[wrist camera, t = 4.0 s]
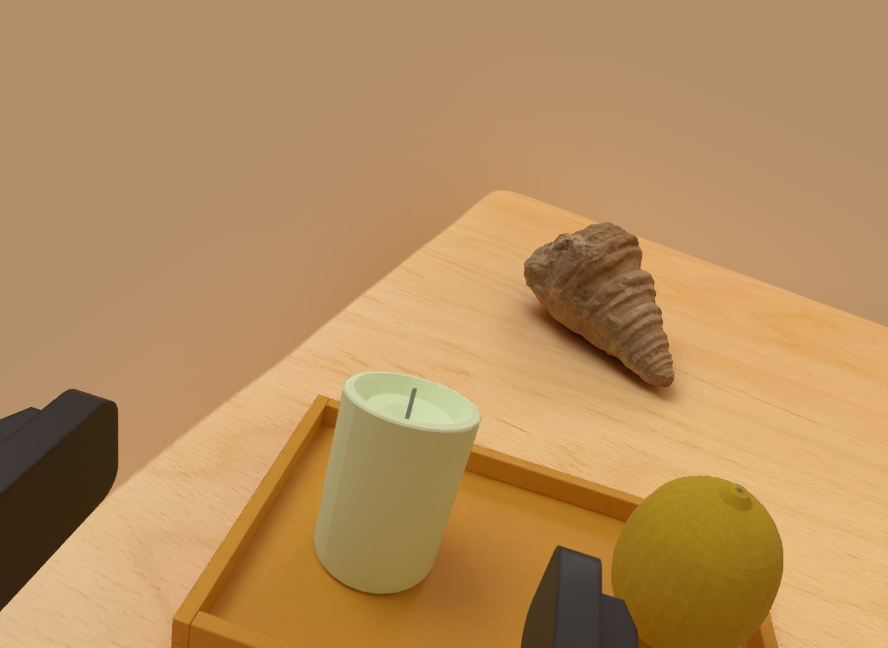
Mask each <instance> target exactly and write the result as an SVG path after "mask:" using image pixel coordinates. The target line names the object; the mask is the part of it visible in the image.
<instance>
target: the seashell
mask: <svg viewBox="0 0 888 648" xmlns="http://www.w3.org/2000/svg"><path fill="white" fill-rule="evenodd" d="M641 260H642V251H641V249H640V247H639V243H638V239H637V237H636V236H635V235H631V234H629V233H627V232H626V231H625V230H623V229H621V227H619V226H615V225H613V224H612V223H608V222H607V223H596V224H592V225H589V226H588V227H587V228H586V229H584V230H580V231H577V232H575V233H573V234H561V235H559V236H558V237H557V238H556V239H555V241H554V242H551V243H549V244H546V245H544V246H543V247H540V248H538V249H536V250H535V252H534V253H533V254H532V255H531V257H530V258H529V259H527V260H526V262H525V263H524V269H525V271H524V276H525V279H526V284H527V286H529V287H530V288H531V289H532V291H533V292H534V294H535V295H536V297H537V299H538V300H539V301H540V302H541V303H542V304H544V305H546V306H547V307H548V310H549V313H550V314H551V316H552V317H553V318H555V319H556V320H557V321H559V322H560V323H562V324H563V325H565V326H566V327H567V328H568V329H570V330H571V331H572V332H575V333H577V334H579V335H582V336H583V337H584V338H585V339H586V340H587V341H589V342H590V343H591V344H593V345H594V346H595V347H597V348H599V349H601V350H604V351H605V352H606V353H607V355H612V356H615V357H617V358H619V359H620V360H621V361H622V362H623V363H624V365H625V366H626V367H627V368H629V369H631V370H632V371H633V372H634V373H636V374H637V375H639V376H640V377H641V379H642V380H644V381H645V382H647V383H649V384H653V385H656V386H661V387H669V386H670V385H671V384H672V382H673V380H674V371H673V369H672V363H673V361H672V358H671V356H672V355H671V354H670V353H669V352H668V347H669V343H668V340H667V335H666V334H665V332H664V331H663V329H662V324H663V320H662V317H661V314H662V311H661V309H660V308H659V307H658V306H657V305H656V304H655V302H656V301H655V299H654V298H655V296H656V291H655V289H654V280H653V278H652V276H651V274H650V273H648V272H646V271H643V270H641V269H640V266H641Z"/></svg>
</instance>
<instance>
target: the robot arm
mask: <svg viewBox="0 0 888 648" xmlns="http://www.w3.org/2000/svg"><path fill="white" fill-rule="evenodd" d="M117 470H118V408H117V405H116V404H115V403H114V402H113V401H110V400H107V399H104V398H101V397H98V396H94V395H92V394H89V393H85V392H82V391H79V390H76V389H69V390H67V391H65V392H64V393H62V394H61V395H60V396H58V397H57V398H56V399H55V400H53V401H52V402H51V403H50V404H48V405H47V406H46V407H45V408H44V409H42V410H39V409H36V408H33V407H30V408H28V409H25V410H23V411H20V412H18V413H15V414H13V415H10V416H8V417H5V418H3V419H0V611H1V610H2V609H3V608H4V607H5V606H6V605H7V604H8V603H9V602H10V601H11V599H12V598H13V597H14V596H15V595H16V594H17V593H18V592H19V591H20V590H21V589H22V588H23V586H24V585H25V584H26V583H27V582H28V581H29V580H30V579H31V578H32V577H33V576H34V575H35V574H36V572H37V571H38V570H39V569H40V568H41V567H42V566H43V565H44V564H45V563H46V562H47V561H48V559H49V558H50V557H51V556H52V555H53V554H54V553H55V552H56V551H57V550H58V549H59V548H60V547H61V545H62V544H63V543H64V542H65V541H66V540H67V539H68V538H69V537H70V536H71V535H72V534H73V532H74V531H75V530H76V529H77V528H78V527H79V526H80V525H81V524H82V523H83V522H84V521H85V519H86V518H87V517H88V516H89V515H90V514H91V513H92V512H93V511H94V510H95V509H96V508H97V507H98V505H99V504H100V503H101V502H102V501H103V500H104V499H105V497H106V496H107V494H108V493H109V491H110V489H111V487H112V485H113V483H114V481H115V478H116V474H117ZM521 648H639V646H638V630H637V628H636V626H635V623H634V621H633V619H632V617H631V614H630V612H629V610H628V608H627V605H626V603H625V601H624V600H621V599H618V598H615V597H612V596H609V595H606V594H603V593H602V562H601V559H600V558H597V557H594V556H591V555H588V554H584V553H581V552H578V551H575V550H572V549H569V548H566V547H563V546H560V545H558V546H557V547H556V548H555V550H554V552H553V554H552V556H551V559H550V561H549V563H548V565H547V568H546V570H545V572H544V574H543V577H542V579H541V581H540V583H539V586H538V588H537V590H536V593H535V595H534V597H533V599H532V602H531V604H530V607H529V610H528V613H527V617H526V621H525V625H524V629H523V634H522V640H521Z"/></svg>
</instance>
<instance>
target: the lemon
mask: <svg viewBox="0 0 888 648" xmlns="http://www.w3.org/2000/svg"><path fill="white" fill-rule="evenodd" d="M782 573H783V546H782V541H781V538H780V536H779V533H778V530H777V527H776V525H775V523H774V521H773V519H772V518H771V516H770V515H769V513H768V512H767V510H766V509H765V507H764V506H763V505H762V504H761V503H760V502H759V501H758V500H757V499H756V498H755V497H754V496H753V495H752V494H750V493H749V492H748V491H747V490H746V489H745V488H744V487H742V486H741V485H738V484H734V483H732V482H730V481H727V480H724V479H720V478H716V477H710V476H688V477H682V478H679V479H676V480H673V481H670V482H668V483H665V484H664V485H662V486H661V487H659V488H658V489H657V490H655V491H654V492H653V493H652V494H650V495H649V496H648V497H647V498H646V499H645V500H644V501H643V502H642V503H641V504H640V505H639V506H638V507H637V508H636V509H635V510H634V512H633V513H632V514H631V516H630V517H629V519H628V520H627V522H626V524H625V526H624V528H623V530H622V532H621V533H620V536H619V538H618V540H617V543H616V545H615V549H614V553H613V559H612V569H611V583H612V588H613V592H614V597H615V598H618V599H621V600H624V601H625V603H626V605H627V608H628V610H629V612H630V614H631V617H632V619H633V621H634V623H635V626H636V628H637V630H638V637H639V638H640V639H641V640H643V641H644V642H645V643H646V644H648V645H649V646H651V647H652V648H737V647H739V646H740V645H741V644H742V643H744V642H745V641H746V640H747V639H748V638H749V637H750V636H752V635H753V634H754V633H755V632H756V631H757V630H758V628H759V627H760V626H761V624H762V623H763V622H764V620H765V618H766V617H767V615H768V613H769V611H770V609H771V607H772V604H773V602H774V600H775V597H776V595H777V592H778V589H779V586H780V582H781V579H782Z"/></svg>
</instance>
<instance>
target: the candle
mask: <svg viewBox="0 0 888 648" xmlns="http://www.w3.org/2000/svg"><path fill="white" fill-rule="evenodd" d="M480 421H481V415H480V412H479V410H478V408H477V407H476V406H475V405H474V404H473V403H472V402H471V401H470V400H469V399H467V398H466V397H465V396H463V395H462V394H460V393H458V392H456V391H454V390H453V389H451V388H449V387H446V386H444V385H441V384H439V383H436V382H433V381H430V380H427V379H424V378H420V377H416V376H412V375H407V374H402V373H394V372H381V371H372V372H363V373H359V374H356V375H353V376H351V377H350V378H348V379H347V380H346V381H345V382H344V386H343V391H342V396H341V401H340V406H339V411H338V416H337V422H336V427H335V432H334V437H333V442H332V447H331V452H330V457H329V462H328V467H327V472H326V477H325V482H324V487H323V493H322V498H321V503H320V508H319V513H318V518H317V523H316V528H315V533H314V544H315V551H316V553H317V555H318V557H319V560H320V562H321V564H322V565H323V566H324V567H325V568H326V569H327V571H328V572H329V573H330V574H331V575H332V576H333V577H335V578H336V579H338V580H339V581H341V582H342V583H344V584H345V585H347V586H349V587H352V588H355V589H357V590H360V591H362V592H369V593H376V594H387V593H397V592H400V591H403V590H406V589H409V588H412V587H413V586H415V585H416V584H418V583H419V582H421V581H422V580H424V578H425V577H426V576H427V575H428V573H429V572H430V571H431V569H432V567H433V564H434V561H435V559H436V556H437V552H438V549H439V546H440V543H441V540H442V537H443V534H444V531H445V528H446V525H447V522H448V519H449V516H450V513H451V510H452V507H453V504H454V501H455V498H456V495H457V492H458V488H459V485H460V482H461V479H462V476H463V473H464V470H465V467H466V464H467V461H468V458H469V455H470V452H471V449H472V446H473V443H474V440H475V437H476V434H477V431H478V428H479V424H480Z"/></svg>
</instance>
